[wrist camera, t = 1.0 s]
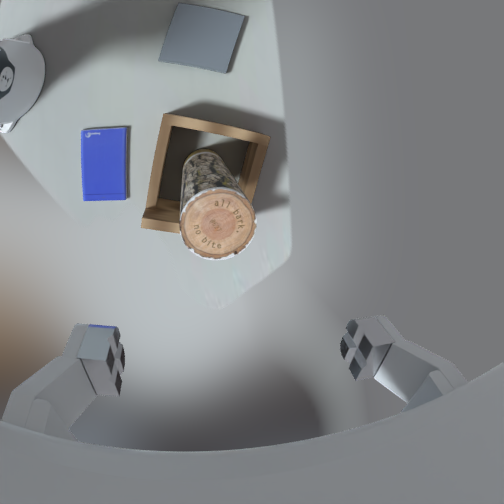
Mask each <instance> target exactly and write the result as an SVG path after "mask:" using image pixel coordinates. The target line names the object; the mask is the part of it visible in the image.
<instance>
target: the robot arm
mask: <svg viewBox="0 0 504 504" xmlns="http://www.w3.org/2000/svg"><path fill="white" fill-rule="evenodd" d="M44 78H45V62H44V58H43V56H42V54H41V52H40V51H39V50H38V49H37V48H36V47H35V46H34V45H33V41H32V37H31V35H29V34H24V35H22V36H19V37H16V38H14V39H3V40H2V41H0V132H3V133H8V132H10V131H11V130H12V128H13V127H14V125H15V123H16V121H17V120H18V119H19V118H20V117H21V116H22V115H24V114H25V113H26V112H27V111H28V110H29V109H30V108H31V107H32V105H33V104H34V103H35V101H36V99H37V98H38V96H39V94H40V91H41V89H42V86H43V82H44ZM2 124H3V127H2ZM346 329H347V331H348V332H347V333H346V334H345V335H344V336H343V337H342V340H341V343H340V351H341V355H342V357H343V359H344V360H345V361H347V362H348V363H350V366H349V370H350V371H351V373H352V375H353V377H354V379H355V380H356V381H357V380H362V379H367V378H372V377H374V379H376V380H377V381H378V382H380V383H381V384H382V385H384V386H385V387H386V388H388V389H389V390H390V391H392V392H393V393H394V394H396V395H397V396H398V397H400V398H401V399H402V400H404V401H405V402H407V405H406V406H405V407H404V409H403V410H402V412H401V413H399V414H397V415H394V416H391V417H388V418H386V419H383V420H379V421H376V422H374V423H370V424H367V425H364V426H360V427H357V428H353V429H350V430H346V431H342V432H338V433H334V434H330V435H326V436H322V437H317V438H313V439H307V440H302V441H297V442H291V443H286V444H279V445H273V446H266V447H258V448H248V449H238V450H225V451H204V452H203V451H202V452H169V451H168V452H167V451H147V450H135V449H124V448H115V447H108V446H101V445H94V444H88V443H83V442H78V440H77V439H76V437H75V436H74V435H73V434H72V433H71V431H70V430H69V428H70V427H71V425H72V424H73V423H74V422H75V420H76V419H77V418H78V417H79V416H80V415H81V414H82V413H83V411H84V410H85V409H86V408H87V407H88V406H89V404H90V403H91V402H92V401H93V400H94V399H95V397H96V395H105V396H120V391H121V385H122V380H121V377H120V374H121V373H122V372H124V366H125V353H124V348H123V345H122V344H121V343H120V342H119V339H120V332H119V329H118V328H117V327H115V326H102V325H91V324H90V325H88V324H79V323H77V324H76V325H75V326H74V328H73V330H72V333H71V335H70V337H69V340H68V342H67V344H66V347H65V349H64V352H63V354H62V357H61V356H58V357H56V358H55V359H54V360H52V361H51V362H50V363H48V364H47V365H46V366H44V367H43V368H42V369H40V370H39V371H38V372H36V373H35V374H34V375H32V376H31V377H30V378H28V379H27V380H26V381H25V382H23V383H22V384H21V385H19V386H18V387H17V388H16V389H14V390H13V391H12V393H11V396H10V399H9V401H8V404H7V407H6V410H5V412H4V415H3V418H2V420H0V504H504V362H502V363H501V364H499V365H498V366H496V367H494V368H493V369H491V370H490V371H488V372H486V373H484V374H483V375H481V376H479V377H477V378H476V379H474V380H472V381H470V382H467V380H466V379H465V378H464V376H463V375H462V374H461V373H460V371H459V370H458V369H457V368H456V366H455V365H454V364H453V363H452V362H450V361H448V360H446V359H444V358H442V357H440V356H438V355H436V354H434V353H432V352H430V351H429V350H426V349H425V348H423V347H420V346H419V345H417V344H415V343H413V342H411V341H409V340H406V341H405V340H404V338H403V337H402V336H401V334H400V333H399V332H398V331H397V329H396V328H395V327H394V326H393V324H392V323H391V322H390V321H389V319H388V318H387V317H386V316H384V315H381V316H373V317H368V318H359V319H351V320H350V321H349V322H348V324H347V326H346Z"/></svg>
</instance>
